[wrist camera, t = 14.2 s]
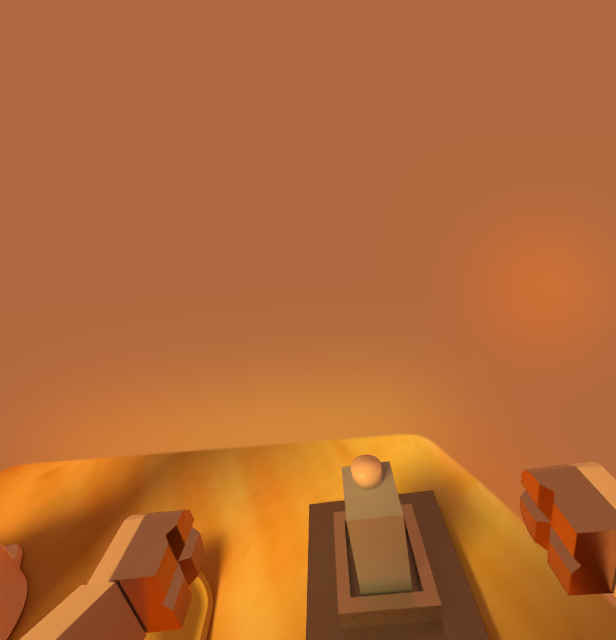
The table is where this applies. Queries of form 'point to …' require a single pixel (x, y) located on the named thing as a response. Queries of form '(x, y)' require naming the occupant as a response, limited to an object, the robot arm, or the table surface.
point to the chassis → (391, 609)
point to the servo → (376, 527)
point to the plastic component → (192, 615)
